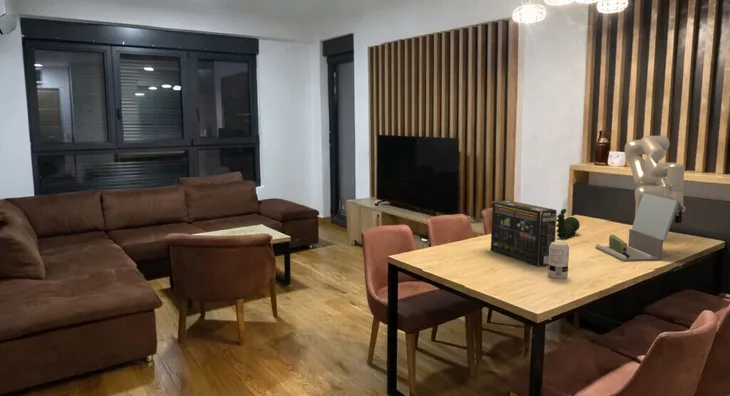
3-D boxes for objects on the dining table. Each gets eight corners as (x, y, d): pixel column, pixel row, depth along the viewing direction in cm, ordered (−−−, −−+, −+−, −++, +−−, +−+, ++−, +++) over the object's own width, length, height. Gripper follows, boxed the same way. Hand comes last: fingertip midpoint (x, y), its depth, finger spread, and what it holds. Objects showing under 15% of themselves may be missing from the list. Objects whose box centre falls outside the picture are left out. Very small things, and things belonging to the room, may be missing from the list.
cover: (631, 228, 275) (633, 229, 275) (663, 239, 249) (665, 240, 250) (643, 193, 273) (645, 193, 273) (676, 200, 247) (679, 201, 247)
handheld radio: (615, 246, 275) (631, 258, 250) (608, 246, 275) (624, 258, 251) (615, 234, 274) (632, 245, 249) (608, 234, 274) (625, 245, 250)
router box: (555, 264, 245) (558, 209, 241) (538, 267, 240) (541, 211, 236) (505, 248, 277) (507, 199, 273) (489, 250, 272) (490, 200, 268)
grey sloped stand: (630, 247, 277) (631, 228, 275) (661, 260, 251) (663, 240, 249) (595, 248, 275) (596, 229, 274) (623, 261, 249) (624, 241, 248)
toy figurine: (567, 243, 292) (583, 232, 310) (568, 212, 288) (584, 202, 306) (551, 241, 299) (568, 230, 316) (552, 210, 295) (568, 201, 312)
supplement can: (544, 273, 230) (546, 241, 228) (562, 273, 231) (564, 241, 229) (552, 279, 222) (554, 245, 220) (570, 278, 223) (572, 245, 221)
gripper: (656, 186, 268) (653, 218, 270) (678, 190, 251) (676, 224, 253) (669, 186, 268) (667, 218, 271) (693, 190, 251) (690, 224, 254)
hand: (671, 221), depth 262 cm, fingers open, 9 cm apart
